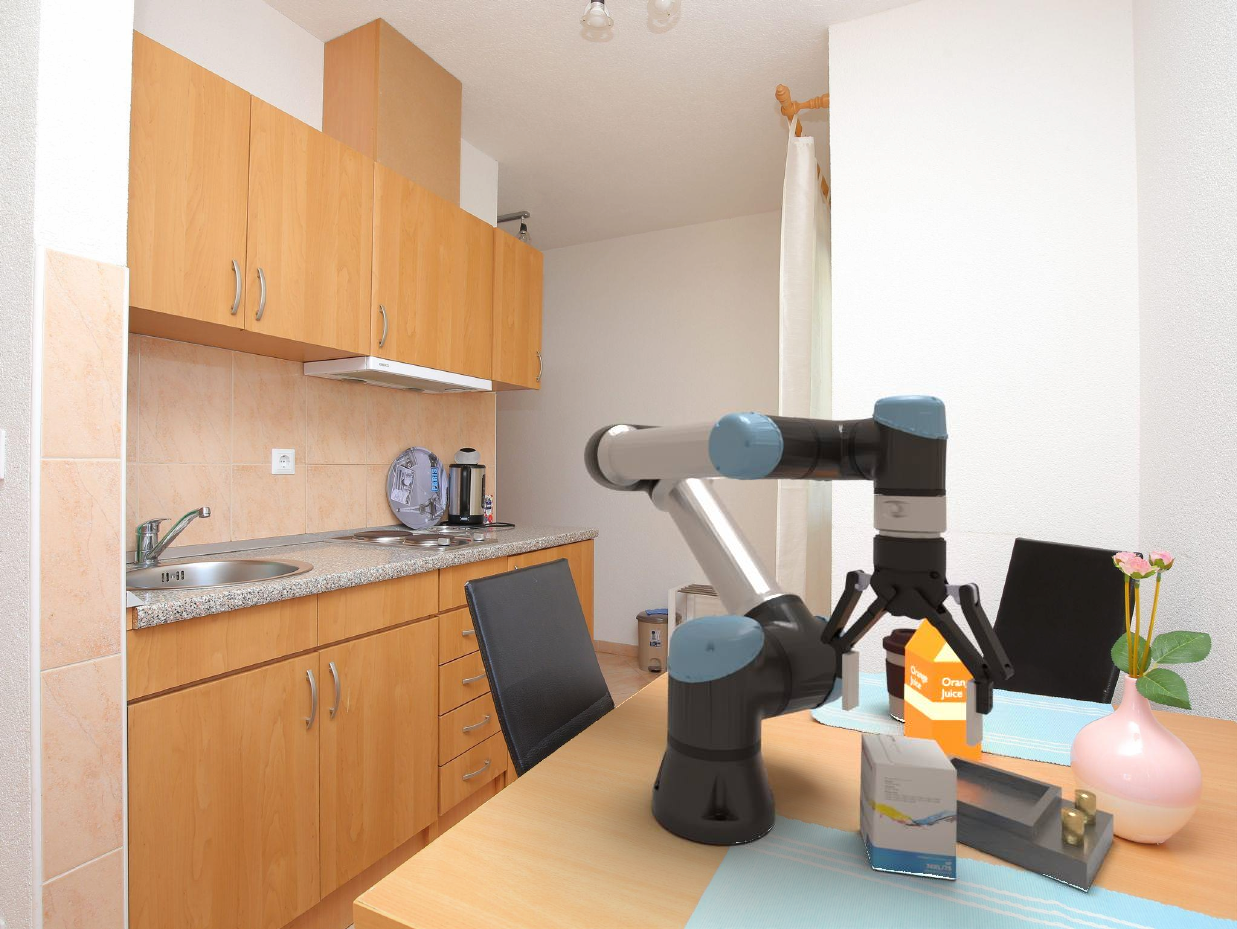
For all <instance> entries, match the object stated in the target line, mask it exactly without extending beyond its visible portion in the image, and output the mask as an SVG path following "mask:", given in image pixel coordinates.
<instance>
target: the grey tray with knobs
mask: <svg viewBox="0 0 1237 929" xmlns="http://www.w3.org/2000/svg"><path fill="white" fill-rule="evenodd" d="M946 756H947V758H948V759H949V760H950V762H951V763H952V765H953V766H954V768H955V769H956V770H957V801H956V802H957V808H956V842H958V843H961V844H963V845H966V846H969V847H970V848H974V849H976V850H978V851H981V852H984V853H986V854H988V855H991V856H994V857H996V858H999V859H1001V860H1004V861H1005V862H1009V863H1011V864H1014V865H1016V866H1018V867H1021V868H1024V869H1026V870H1029V871H1031V872H1034V873H1036V874H1038V875H1041V874H1045V875H1048V876H1051V877H1053V878H1056V879H1059V880H1061V881H1065V882H1067V883H1068V884H1072V885H1075V886H1078V887H1080V888H1083V889H1084V890H1087V889H1088V887H1089V886H1090V887H1091V885H1092V883H1093V881H1094V879H1095V877H1096V875H1097V873H1098V871H1099V869H1100V867H1101V865H1102V863H1103V861H1104V860H1105V858H1106V856H1107V854H1108V852H1109V850H1110V848H1111V846H1112V844H1113V842H1114V813H1113V814H1112V813H1110V812H1106V811H1104V810H1100V809H1097V796H1096V794H1095V793H1094V792H1091V791H1088V790H1085V789H1075V790H1074V801H1071V800H1068V799H1065V798H1063V797H1062V796H1063V794H1062V793H1063V788H1062V786H1058V785H1056V784H1052V783H1048V782H1046V781H1042V780H1039V779H1035V778H1033V777H1032V778H1031V777H1029V776H1026V775H1022V774H1018V773H1016V772H1012V771H1009V770H1005V769H1003V768H999V767H996V766H993V765H990V764H986V763H982V762H980V761H978V760H970V759H967V758H964V757H961V756H957V755H954V754H951V753H948V754H947V755H946ZM1090 887H1089V888H1090ZM1088 890H1089V889H1088Z"/></svg>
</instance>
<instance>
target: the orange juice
mask: <svg viewBox="0 0 1237 929" xmlns="http://www.w3.org/2000/svg"><path fill="white" fill-rule="evenodd" d="M971 678H973V676H972V675H971V674H970V672H969V671H968V670H967V669H966V667H965V666H964V665H963V663H962V662H961V661H960V659H959V658H958V657H957V655H956V654H955V653H954V652H953V650H952V649H951V648H950V646H949V645H948V644H947V642H946V641H945V640H944V638H943V637H942V636H941V634H940V633H939V632H938V631H937V629H936V628H935V627H933V626H932V625H931V624H930V623H929V622H928V621H927V619H926V618H925V619H923V621H922V622H921V623H920V625H919V626H918V628H917V631H916V632H915V634H914V635H913V636H912V638H911V639H910V641H909V642H908V644H907V645H906V646H905V696H904V699H905V723H904V729H903V730H904V734H905V736H906V737H912V738H920V739H929V740H935V741H936V742H937V744H938V745H939V746H940V748H941V749H942V751H943V752H944V753H945V755H947V754H948V753H951V754H954V755H957V756H961V757H964V758H967V759H970V760H974V761H982V741H981V742H980V743H978V744H977V745H976V746H975V747H971V746H968V745H966V681H968V680H970V679H971ZM905 736H904V737H905Z"/></svg>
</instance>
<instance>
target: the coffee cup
mask: <svg viewBox="0 0 1237 929" xmlns="http://www.w3.org/2000/svg"><path fill="white" fill-rule="evenodd" d="M917 629H918V628H917ZM917 629H916V628H906V627H905V628H901V627H900V628H894V629H893V630H892V631H891V633H890V635H885V636H883V637H882V648H883V649H884V650H885V655H886V658H885V659H884V660H885V677H886V690H887V693H888V700H889V701H888V704H889V714H890V713H891V714H892V715H893V716H895V717H898V718H899V719H903V720H905V699H904V696H905V646H906V645H907V644H908V642H909V641H910V639H911V638H912V636H913V635H914V634H915V632H916V631H917ZM891 714H890V715H891Z"/></svg>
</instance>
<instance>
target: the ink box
mask: <svg viewBox="0 0 1237 929" xmlns="http://www.w3.org/2000/svg"><path fill="white" fill-rule="evenodd" d="M860 743H861V746H860V747H861V748H860V749H861V750H860V753H861V754H860V783H859V784H860V788H859V790H860V791H859V830H860V833H861V837H862V836H863V837H862V839H863V838H864V840H863V842H864V841H865V843H864V845H865V844H866V847H867V850H866V852H867V851H868V853H867V855H868V854H869V856H868V858H869V857H870V859H869V862H870V861H871V863H870V865H871V864H872V866H873V867H874V868H882V869H886V870H894V871H903V872H904V871H905V872H911V873H923V874H932V875H936V876H937V875H938V876H943V877H949V878H956V879H957V841H956V808H957V802H956V801H957V770H956V769H955V768H954V766H953V765H952V763H951V762H950V760H949V759H948V758H947V756H946V755H945V753H944V752H943V751H942V749H941V748H940V746H939V745H938V744H937V742H936V741H935V740H929V739H920V738H912V737H905V736H900V735H894V734H893V735H892V734H885V733H879V734H870V733H861V742H860ZM866 847H865V848H866ZM872 866H871V867H872Z"/></svg>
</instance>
